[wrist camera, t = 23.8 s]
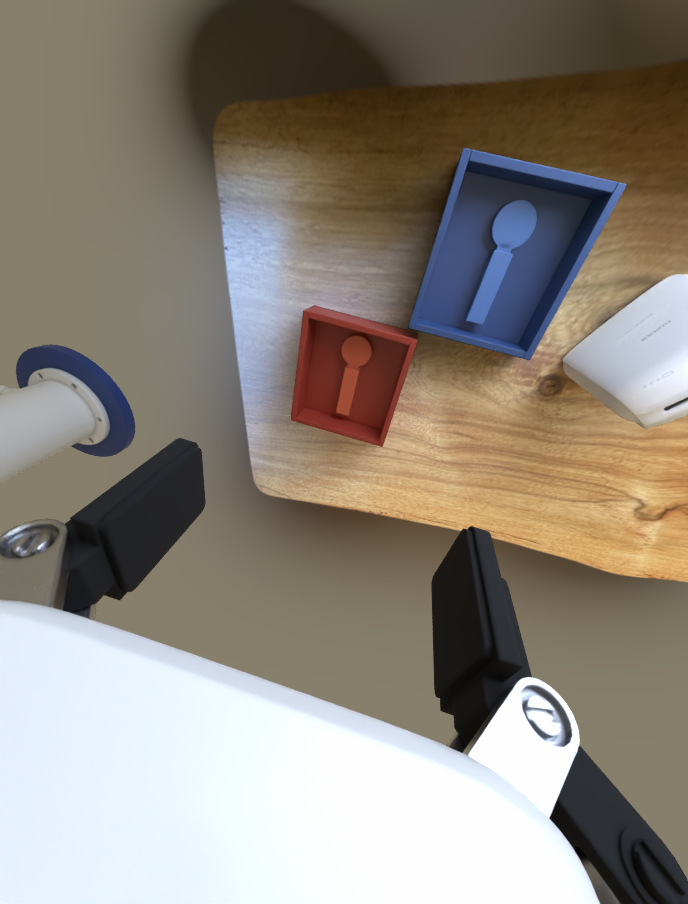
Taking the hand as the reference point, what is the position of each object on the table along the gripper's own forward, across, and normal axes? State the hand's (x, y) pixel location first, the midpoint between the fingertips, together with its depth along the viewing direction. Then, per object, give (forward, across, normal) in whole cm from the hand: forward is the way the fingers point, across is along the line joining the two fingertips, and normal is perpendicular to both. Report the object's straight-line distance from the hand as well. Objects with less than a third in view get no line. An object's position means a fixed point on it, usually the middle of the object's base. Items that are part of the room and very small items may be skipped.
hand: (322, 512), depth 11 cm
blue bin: (+26, -7, -8) cm, 29 cm away
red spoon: (+26, +3, +4) cm, 26 cm away
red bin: (+26, +3, +4) cm, 27 cm away
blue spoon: (+26, -7, -8) cm, 28 cm away
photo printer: (+26, -20, -6) cm, 34 cm away
